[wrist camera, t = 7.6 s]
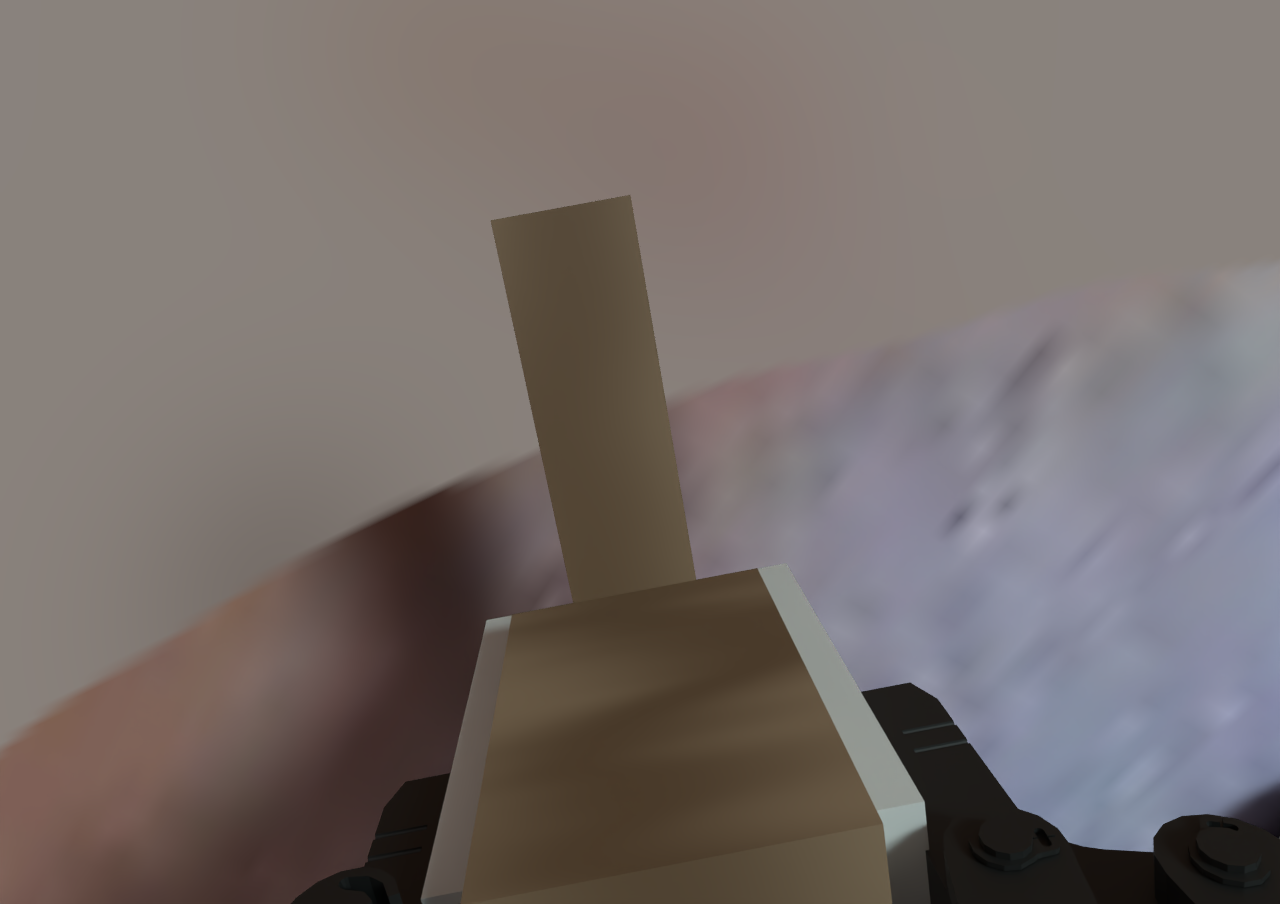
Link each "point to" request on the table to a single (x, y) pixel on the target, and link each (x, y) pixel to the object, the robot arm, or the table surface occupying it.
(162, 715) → the table surface
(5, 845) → the table surface
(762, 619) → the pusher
